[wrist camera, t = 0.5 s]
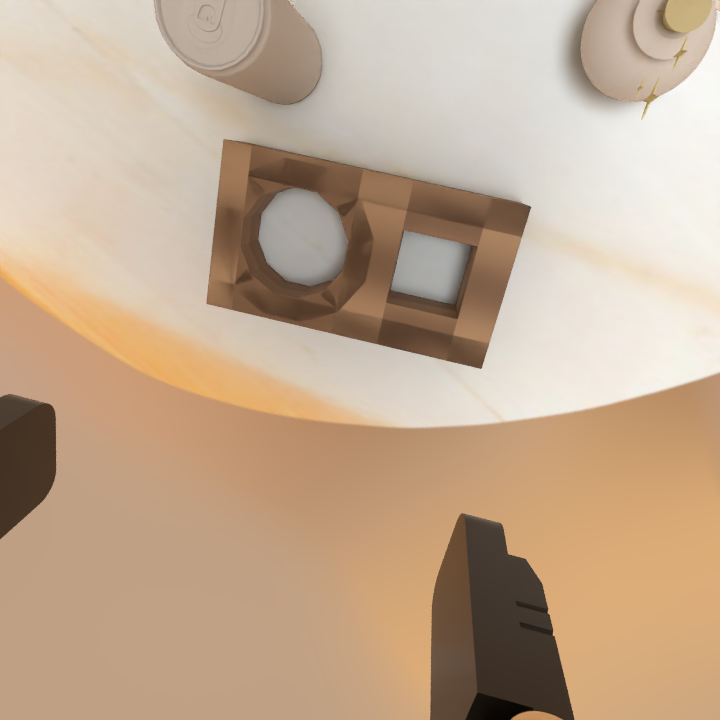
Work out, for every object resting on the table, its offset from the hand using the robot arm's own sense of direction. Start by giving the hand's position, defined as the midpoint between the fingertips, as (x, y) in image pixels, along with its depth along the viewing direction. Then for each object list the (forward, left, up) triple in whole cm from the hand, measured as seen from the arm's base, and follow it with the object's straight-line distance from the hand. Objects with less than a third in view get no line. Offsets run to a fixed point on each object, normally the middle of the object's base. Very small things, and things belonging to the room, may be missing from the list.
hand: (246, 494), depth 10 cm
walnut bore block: (-1, -1, -27) cm, 27 cm away
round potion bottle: (-14, +11, -28) cm, 33 cm away
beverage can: (-11, -8, -28) cm, 31 cm away
